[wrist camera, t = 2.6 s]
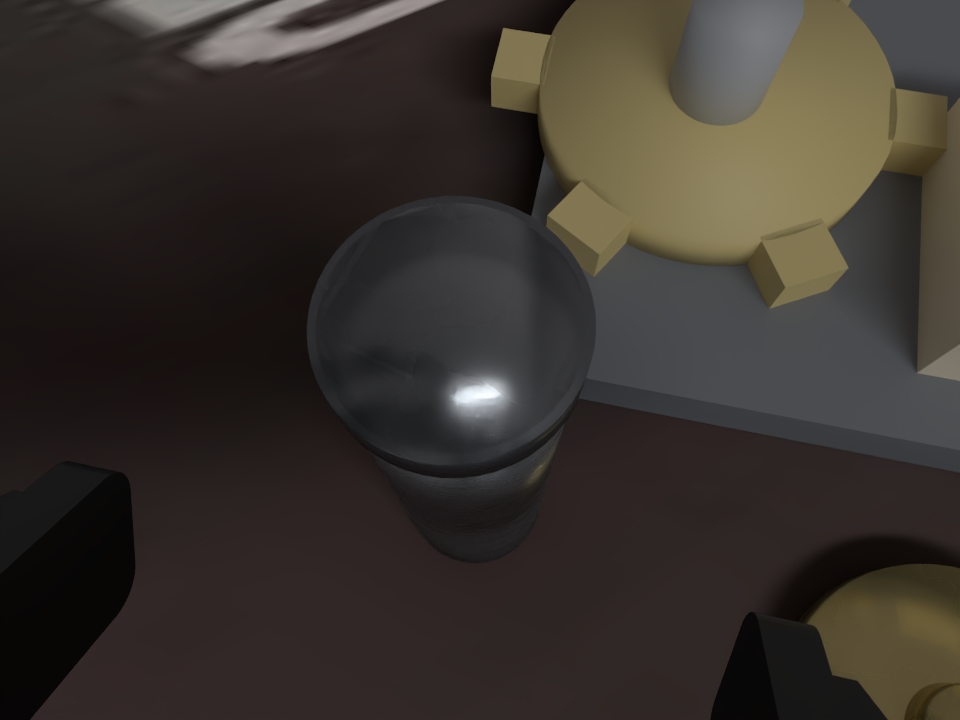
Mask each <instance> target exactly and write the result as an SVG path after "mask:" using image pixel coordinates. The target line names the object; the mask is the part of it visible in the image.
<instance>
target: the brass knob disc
mask: <svg viewBox="0 0 960 720" xmlns="http://www.w3.org/2000/svg"><path fill="white" fill-rule="evenodd" d="M797 622H800V623H805V624H810V625H813V626H815V627H816V628H817V629H818V631H819V633H820V636H821V639H822V642H823V645H824V649H825V652H826V655H827V659H828V662H829V665H830V669H831V672H832V675H834V676H839V677H843V678H848V679H852V680H857V681H858V682H859V683H860V685H861V686H862V687H863V688H864V690H865V691H866V692H867V693H868V695H869V696H870V697H871V699H872V700H873V701H874V702H875V704H876V705H877V706H878V708H879V709H880V710H881V711H882V713H883V714H884V715H885V717H886V718H887V719H888V720H960V568H956V567H951V566H943V565H936V564H908V565H900V566H892V567H888V568H883V569H879V570H875V571H871V572H868V573H864V574H860V575H857V576H855V577H853V578H850V579H848V580H846V581H843V582H841V583H839V584H838V585H836V586H835V587H833V588H832V589H830V590H828V591H827V592H825V593H824V594H823V595H822V596H821V597H820V598H818V599H817V600H816V601H815V602H814V603H813V604H811V606H810V607H809V608H808V609H807V610H806V611H805V613H804V614H803V615H802V616H801V617H800V619H799V620H798V621H797Z"/></svg>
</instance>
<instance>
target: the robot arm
mask: <svg viewBox="0 0 960 720" xmlns="http://www.w3.org/2000/svg"><path fill="white" fill-rule="evenodd" d="M134 575H135V551H134V535H133V520H132V505H131V490H130V484H129V480H128V478H127V477H126V476H125V475H124V474H123V473H121V472H116V471H111V470H107V469H102V468H98V467H93V466H89V465H84V464H79V463H75V462H69V461H65V462H61V463H59V464H57V465H56V466H54V467H53V468H52V469H51V470H49V471H48V472H47V473H46V474H44V475H43V476H42V477H41V478H39V479H38V480H37V481H36V482H34V483H33V484H32V485H31V486H30V487H28V488H27V489H26V490H25V491H23V492H19V491H15V490H13V491H11V492H9V493H7V494H4V495H2V496H0V720H30V719H31V718H32V717H33V715H34V714H35V713H36V712H37V711H38V709H39V708H40V707H41V706H42V705H43V703H44V702H45V701H46V700H47V699H48V697H49V696H50V695H51V694H52V693H53V691H54V690H55V689H56V688H57V687H58V685H59V684H60V683H61V682H62V681H63V679H64V678H65V677H66V676H67V675H68V673H69V672H70V671H71V670H72V669H73V667H74V666H75V665H76V664H77V663H78V661H79V660H80V659H81V658H82V657H83V656H84V654H85V653H86V652H87V651H88V650H89V648H90V647H91V646H92V645H93V644H94V642H95V641H96V640H97V639H98V638H99V636H100V635H101V634H102V633H103V632H104V630H105V629H106V628H107V627H108V626H109V624H110V623H111V622H112V621H113V620H114V618H115V617H116V616H117V615H118V613H119V612H120V611H121V609H122V607H123V606H124V604H125V602H126V600H127V598H128V596H129V593H130V590H131V588H132V584H133V580H134ZM710 720H888V719H887V718H886V717H885V715H884V714H883V713H882V711H881V710H880V709H879V708H878V706H877V705H876V704H875V702H874V701H873V700H872V699H871V697H870V696H869V695H868V693H867V692H866V691H865V690H864V688H863V687H862V686H861V685H860V683H859V682H858V681H857V680H852V679H848V678H843V677H839V676H834V675H832V672H831V669H830V665H829V662H828V659H827V655H826V652H825V649H824V645H823V642H822V639H821V636H820V633H819V631H818V629H817V628H816V627H815V626H813V625H810V624H805V623H800V622H796V621H791V620H787V619H782V618H778V617H773V616H768V615H764V614H759V613H755V612H750V613H748V614H747V616H746V617H745V619H744V621H743V623H742V625H741V628H740V631H739V634H738V636H737V639H736V642H735V645H734V648H733V650H732V653H731V656H730V659H729V662H728V664H727V667H726V670H725V673H724V676H723V678H722V681H721V684H720V687H719V690H718V692H717V695H716V698H715V701H714V705H713V709H712V713H711V719H710Z"/></svg>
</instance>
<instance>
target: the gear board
mask: <svg viewBox="0 0 960 720" xmlns="http://www.w3.org/2000/svg"><path fill="white" fill-rule="evenodd" d="M491 106H492V107H498V108H504V109H510V110H516V111H523V112H529V113H535V114H538V129H539V135H540V140H541V145H542V148H543V151H544V154H545V156H544V161H543V165H542V170H541V174H540V179H539V184H538V188H537V193H536V197H535V202H534V207H533V211H532V216H531V217H533V218H534V219H536V220H537V221H539V222H540V223H542V224H543V225H545V226H546V227H547V228H548V229H550V230H551V231H552V232H553V233H554V234H555V235H556V236H558V237H559V238H560V240H561V241H562V242H563V243H564V244H565V245H566V246H567V247H568V249H569V250H570V251H571V253H572V254H573V256H574V257H575V259H576V260H577V261H578V263H579V265H580V267H581V269H582V271H583V273H584V275H585V277H586V279H587V281H588V284H589V287H590V290H591V293H592V296H593V302H594V307H595V313H596V338H595V348H594V352H593V356H592V360H591V364H590V368H589V371H588V374H587V377H586V380H585V383H584V386H583V389H582V392H581V394H580V397H579V399H584V400H589V401H594V402H599V403H605V404H610V405H615V406H620V407H625V408H630V409H635V410H641V411H646V412H651V413H656V414H661V415H666V416H671V417H676V418H682V419H687V420H692V421H697V422H702V423H707V424H712V425H717V426H723V427H728V428H733V429H738V430H743V431H748V432H753V433H759V434H764V435H769V436H774V437H779V438H784V439H789V440H794V441H800V442H805V443H810V444H815V445H820V446H825V447H830V448H836V449H841V450H846V451H851V452H856V453H861V454H866V455H871V456H877V457H882V458H887V459H892V460H897V461H902V462H907V463H912V464H918V465H923V466H928V467H933V468H938V469H943V470H948V471H954V472H959V473H960V0H576V1H575V2H574V3H573V4H572V5H571V6H570V7H569V8H568V9H567V10H566V12H565V13H564V15H563V16H562V18H561V19H560V20H559V22H558V23H557V25H556V27H555V29H554V31H553V33H552V35H545V34H539V33H532V32H526V31H519V30H513V29H506V28H503V32H502V36H501V39H500V43H499V47H498V51H497V55H496V59H495V63H494V67H493V71H492V75H491Z"/></svg>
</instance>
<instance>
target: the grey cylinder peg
mask: <svg viewBox="0 0 960 720" xmlns="http://www.w3.org/2000/svg"><path fill="white" fill-rule="evenodd" d="M595 338H596V313H595V307H594V302H593V296H592V293H591V290H590V287H589V284H588V281H587V279H586V277H585V275H584V273H583V271H582V269H581V267H580V265H579V263H578V261H577V260H576V259H575V257H574V256H573V254H572V253H571V251H570V250H569V249H568V247H567V246H566V245H565V244H564V243H563V242H562V241H561V240H560V238H559V237H558V236H556V235H555V234H554V233H553V232H552V231H551V230H550V229H548V228H547V227H546V226H545V225H543V224H542V223H540V222H539V221H537V220H536V219H534V218H533V217H531V216H530V215H528V214H526V213H524V212H522V211H520V210H518V209H516V208H513V207H511V206H508V205H505V204H502V203H500V202H496V201H492V200H487V199H483V198H476V197H468V196H441V197H432V198H426V199H422V200H417V201H413V202H409V203H406V204H404V205H401V206H398V207H395V208H393V209H391V210H389V211H387V212H385V213H383V214H380V215H378V216H377V217H375V218H374V219H372V220H371V221H369V222H367V223H366V224H364V225H363V226H362V227H360V228H359V229H358V230H357V231H356V232H354V233H353V234H352V235H351V236H350V237H349V238H348V239H347V240H346V241H345V242H344V243H343V244H342V245H341V246H340V247H339V248H338V249H337V251H336V252H335V253H334V255H333V256H332V257H331V259H330V260H329V262H328V263H327V265H326V266H325V268H324V270H323V272H322V274H321V275H320V277H319V279H318V282H317V284H316V287H315V290H314V292H313V295H312V299H311V303H310V307H309V311H308V321H307V347H308V352H309V357H310V362H311V366H312V369H313V372H314V375H315V378H316V381H317V383H318V385H319V387H320V388H321V390H322V392H323V394H324V396H325V398H326V399H327V401H328V402H329V404H330V405H331V407H332V408H333V410H334V411H335V413H336V414H337V416H338V417H339V419H340V420H341V422H342V423H343V424H344V426H345V427H346V429H347V430H348V431H349V432H350V433H351V434H352V435H353V437H354V438H355V439H356V440H357V441H358V442H359V443H360V444H361V445H363V446H364V447H365V448H366V449H368V450H369V452H370V453H371V455H372V456H373V458H374V460H375V461H376V463H377V464H378V466H379V468H380V469H381V471H382V472H383V474H384V476H385V477H386V479H387V480H388V482H389V484H390V485H391V487H392V488H393V490H394V492H395V493H396V495H397V496H398V498H399V500H400V501H401V503H402V504H403V506H404V508H405V509H406V511H407V512H408V514H409V516H410V517H411V519H412V520H413V522H414V524H415V525H416V527H417V528H418V530H419V532H420V533H421V535H422V536H423V537H424V539H425V540H426V541H427V542H428V543H429V544H430V545H431V546H432V547H433V548H434V549H436V550H437V551H438V552H440V553H441V554H443V555H445V556H447V557H449V558H451V559H454V560H458V561H461V562H468V563H482V562H489V561H492V560H496V559H498V558H501V557H503V556H505V555H507V554H509V553H510V552H512V551H513V550H515V549H516V548H517V547H518V546H519V545H520V544H521V543H522V542H523V541H524V540H525V539H526V538H527V536H528V535H529V534H530V532H531V530H532V528H533V527H534V524H535V522H536V520H537V517H538V513H539V510H540V506H541V503H542V499H543V496H544V492H545V489H546V485H547V482H548V478H549V475H550V472H551V468H552V465H553V461H554V458H555V454H556V451H557V447H558V444H559V440H560V437H561V433H562V430H563V426H564V423H565V422H566V420H567V419H568V418H569V416H570V414H571V412H572V411H573V409H574V407H575V406H576V404H577V401H578V399H579V397H580V394H581V392H582V389H583V386H584V383H585V380H586V377H587V374H588V371H589V368H590V364H591V360H592V356H593V352H594V348H595Z"/></svg>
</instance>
